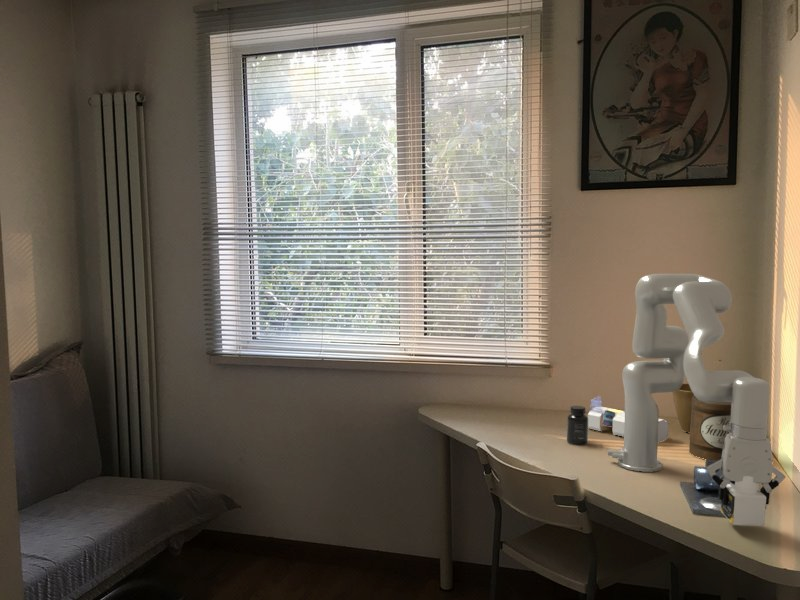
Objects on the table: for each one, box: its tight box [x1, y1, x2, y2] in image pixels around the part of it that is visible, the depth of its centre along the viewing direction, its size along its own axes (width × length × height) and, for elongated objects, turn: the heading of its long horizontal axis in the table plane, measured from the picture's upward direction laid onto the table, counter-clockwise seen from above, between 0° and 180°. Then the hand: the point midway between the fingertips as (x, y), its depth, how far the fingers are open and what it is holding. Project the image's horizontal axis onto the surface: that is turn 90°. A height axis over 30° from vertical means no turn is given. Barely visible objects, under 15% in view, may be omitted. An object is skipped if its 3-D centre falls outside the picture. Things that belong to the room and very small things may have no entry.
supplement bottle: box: [566, 405, 589, 446], centre depth 224 cm, size 7×7×12 cm
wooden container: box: [688, 395, 732, 461], centre depth 210 cm, size 15×15×22 cm
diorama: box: [587, 395, 670, 442], centre depth 234 cm, size 25×10×13 cm, turn 41°
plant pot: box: [672, 382, 694, 433], centre depth 237 cm, size 15×15×16 cm
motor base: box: [679, 459, 730, 518], centre depth 172 cm, size 14×20×9 cm
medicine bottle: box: [721, 476, 767, 527], centre depth 156 cm, size 7×7×12 cm
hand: (743, 504), depth 156 cm, fingers closed on medicine bottle, 7 cm apart
